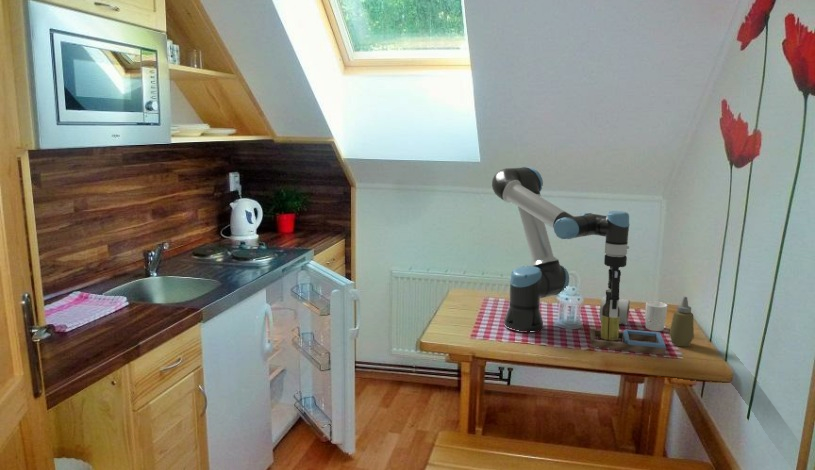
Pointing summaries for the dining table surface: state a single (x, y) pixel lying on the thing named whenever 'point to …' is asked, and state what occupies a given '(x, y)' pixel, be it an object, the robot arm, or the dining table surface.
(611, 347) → the caddy
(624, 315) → the toilet paper
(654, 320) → the white cup
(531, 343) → the dining table surface
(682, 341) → the squeeze bottle
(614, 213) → the robot arm
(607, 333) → the sauce bottle
